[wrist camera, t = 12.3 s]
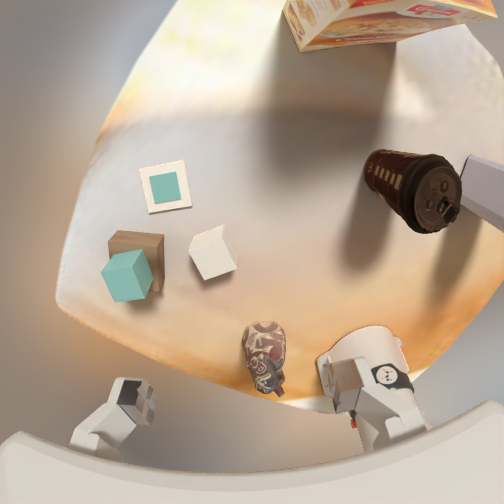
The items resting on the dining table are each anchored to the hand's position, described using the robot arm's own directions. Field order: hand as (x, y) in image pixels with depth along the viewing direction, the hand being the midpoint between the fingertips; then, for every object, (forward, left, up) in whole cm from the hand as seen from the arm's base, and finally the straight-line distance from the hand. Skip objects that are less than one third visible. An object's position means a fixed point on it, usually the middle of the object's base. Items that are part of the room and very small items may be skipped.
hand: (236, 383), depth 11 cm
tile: (+3, +9, -27) cm, 28 cm away
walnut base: (-6, +15, -27) cm, 32 cm away
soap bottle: (0, -40, -27) cm, 48 cm away
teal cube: (-6, +15, -23) cm, 28 cm away
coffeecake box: (+23, -16, -27) cm, 39 cm away
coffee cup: (+2, -20, -27) cm, 34 cm away
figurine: (-24, -1, -27) cm, 36 cm away
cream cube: (-6, +4, -27) cm, 28 cm away
